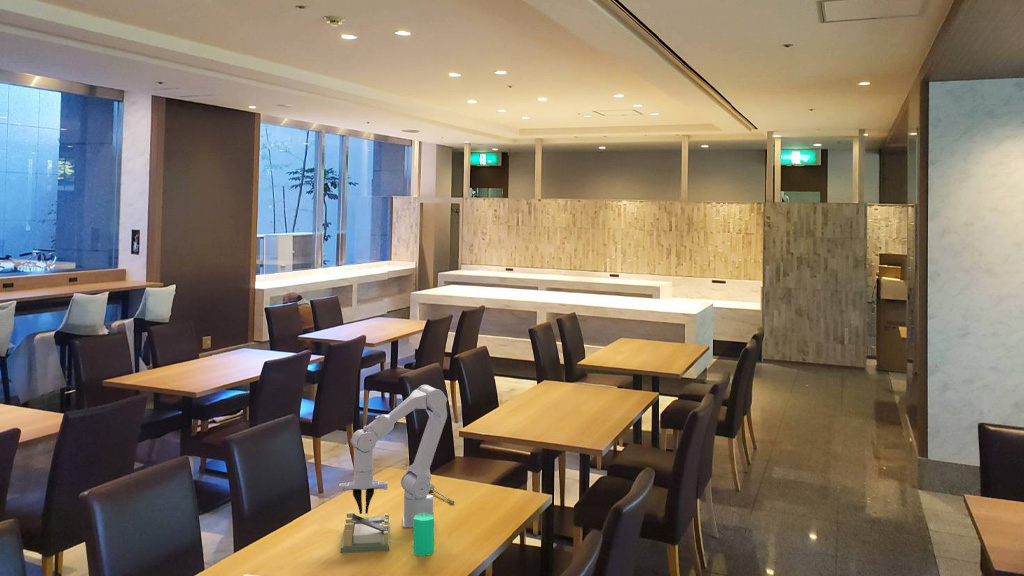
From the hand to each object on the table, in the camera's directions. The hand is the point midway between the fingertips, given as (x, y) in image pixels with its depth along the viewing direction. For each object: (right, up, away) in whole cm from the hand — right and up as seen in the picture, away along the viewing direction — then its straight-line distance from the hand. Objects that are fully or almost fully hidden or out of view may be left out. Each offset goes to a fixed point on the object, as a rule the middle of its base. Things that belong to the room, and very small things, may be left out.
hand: (363, 512), depth 232 cm
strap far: (+2, -3, 0) cm, 3 cm away
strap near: (+3, -1, -9) cm, 9 cm away
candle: (+20, -8, -12) cm, 24 cm away
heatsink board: (+2, -7, -4) cm, 8 cm away
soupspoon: (+19, -5, +35) cm, 40 cm away
